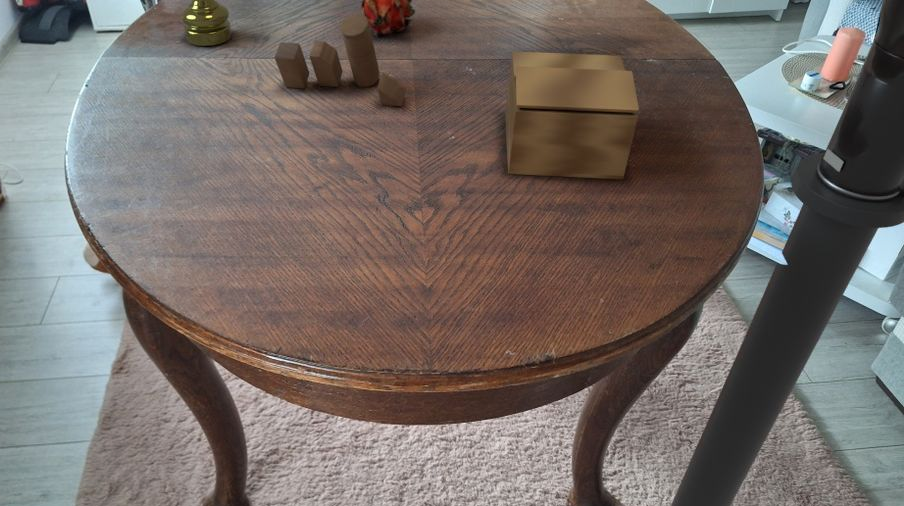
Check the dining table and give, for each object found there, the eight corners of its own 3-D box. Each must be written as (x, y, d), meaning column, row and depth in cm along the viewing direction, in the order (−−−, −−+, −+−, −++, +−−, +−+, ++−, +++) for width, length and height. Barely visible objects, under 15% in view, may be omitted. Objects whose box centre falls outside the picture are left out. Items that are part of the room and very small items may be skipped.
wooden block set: (284, 104, 109) (264, 54, 100) (300, 60, 112) (282, 7, 103) (403, 114, 105) (393, 63, 96) (415, 68, 109) (406, 15, 100)
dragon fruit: (400, 24, 130) (384, 62, 123) (361, -6, 127) (342, 30, 120) (428, -10, 124) (413, 27, 117) (387, -43, 122) (370, -7, 114)
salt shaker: (180, 34, 122) (167, -28, 116) (222, 26, 125) (213, -35, 119) (194, 50, 117) (182, -14, 111) (238, 41, 120) (229, -22, 114)
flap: (631, 73, 89) (632, 70, 88) (638, 113, 84) (639, 110, 84) (515, 68, 89) (515, 66, 89) (516, 107, 85) (516, 104, 85)
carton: (607, 120, 101) (620, 55, 95) (623, 179, 90) (639, 110, 84) (505, 115, 102) (512, 51, 96) (508, 174, 91) (516, 105, 85)
